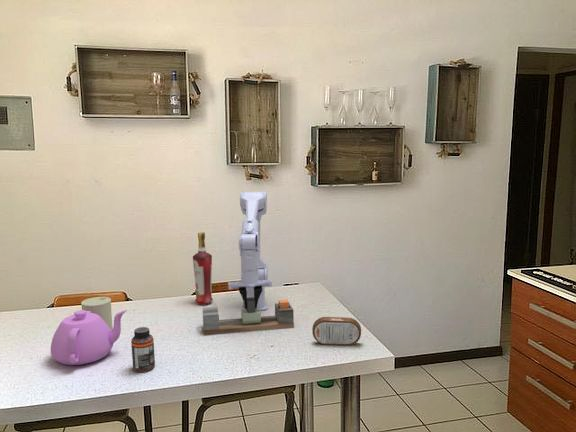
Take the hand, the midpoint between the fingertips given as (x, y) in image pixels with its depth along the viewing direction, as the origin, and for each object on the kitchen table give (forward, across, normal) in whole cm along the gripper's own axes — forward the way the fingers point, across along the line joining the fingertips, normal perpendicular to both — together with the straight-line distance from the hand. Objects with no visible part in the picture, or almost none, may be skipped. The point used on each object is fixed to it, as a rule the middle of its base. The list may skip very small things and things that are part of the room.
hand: (250, 308), depth 166 cm
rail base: (+6, -1, 0) cm, 6 cm away
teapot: (+7, -49, -13) cm, 51 cm away
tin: (+7, +24, -21) cm, 33 cm away
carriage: (+5, 0, 0) cm, 5 cm away
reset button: (+2, +11, 0) cm, 12 cm away
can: (+7, -50, +4) cm, 51 cm away
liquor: (+7, -15, +29) cm, 33 cm away
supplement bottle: (+7, -33, -25) cm, 42 cm away
